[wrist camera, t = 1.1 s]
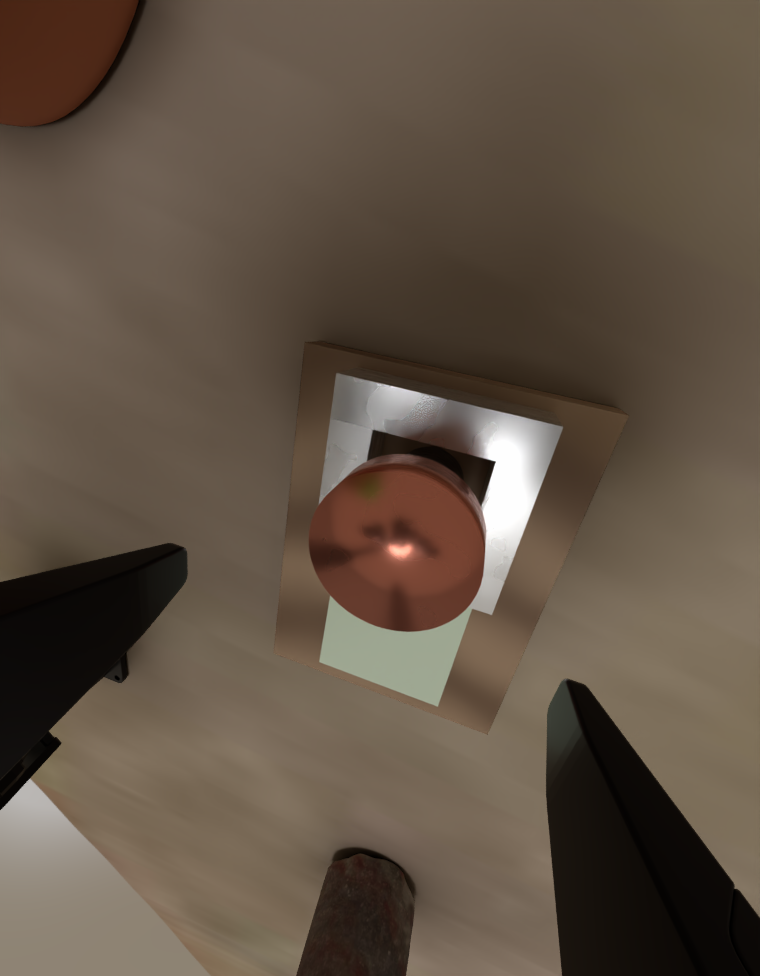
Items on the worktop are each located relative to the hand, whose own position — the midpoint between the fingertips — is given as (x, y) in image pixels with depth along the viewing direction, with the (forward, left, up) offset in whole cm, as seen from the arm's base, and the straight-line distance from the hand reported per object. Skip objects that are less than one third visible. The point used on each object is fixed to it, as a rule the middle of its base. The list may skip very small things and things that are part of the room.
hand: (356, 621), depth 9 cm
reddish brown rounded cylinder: (0, 0, -10) cm, 10 cm away
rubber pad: (-9, 0, -10) cm, 13 cm away
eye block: (0, 0, -10) cm, 10 cm away
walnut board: (-4, 0, -11) cm, 12 cm away
